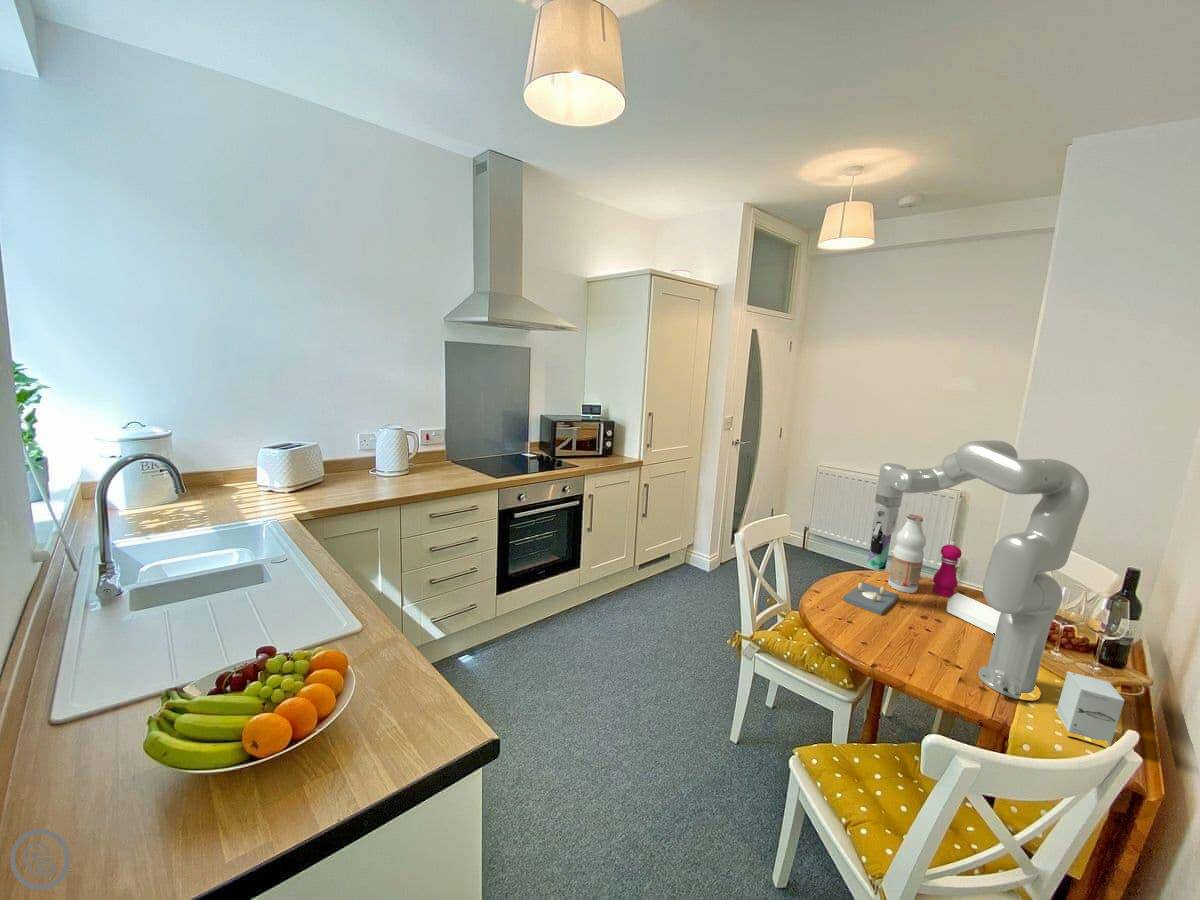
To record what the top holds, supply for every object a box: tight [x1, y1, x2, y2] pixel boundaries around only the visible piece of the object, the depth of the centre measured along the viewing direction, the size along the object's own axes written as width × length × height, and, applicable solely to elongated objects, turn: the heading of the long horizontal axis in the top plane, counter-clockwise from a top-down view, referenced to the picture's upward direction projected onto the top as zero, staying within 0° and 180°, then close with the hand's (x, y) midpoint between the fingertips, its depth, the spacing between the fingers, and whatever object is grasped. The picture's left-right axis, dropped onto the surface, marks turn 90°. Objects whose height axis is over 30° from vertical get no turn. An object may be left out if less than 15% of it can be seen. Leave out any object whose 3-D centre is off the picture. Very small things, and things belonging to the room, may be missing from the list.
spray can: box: [866, 529, 893, 572], centre depth 162 cm, size 6×6×20 cm
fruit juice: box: [887, 513, 927, 594], centre depth 173 cm, size 9×9×28 cm
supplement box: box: [1055, 670, 1125, 749], centre depth 107 cm, size 7×7×13 cm
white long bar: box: [946, 592, 1001, 635], centre depth 151 cm, size 7×7×24 cm
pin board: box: [842, 581, 900, 616], centre depth 165 cm, size 18×12×4 cm, turn 132°
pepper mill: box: [932, 541, 962, 598], centre depth 172 cm, size 7×7×20 cm
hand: (879, 550), depth 162 cm, fingers closed on spray can, 5 cm apart
